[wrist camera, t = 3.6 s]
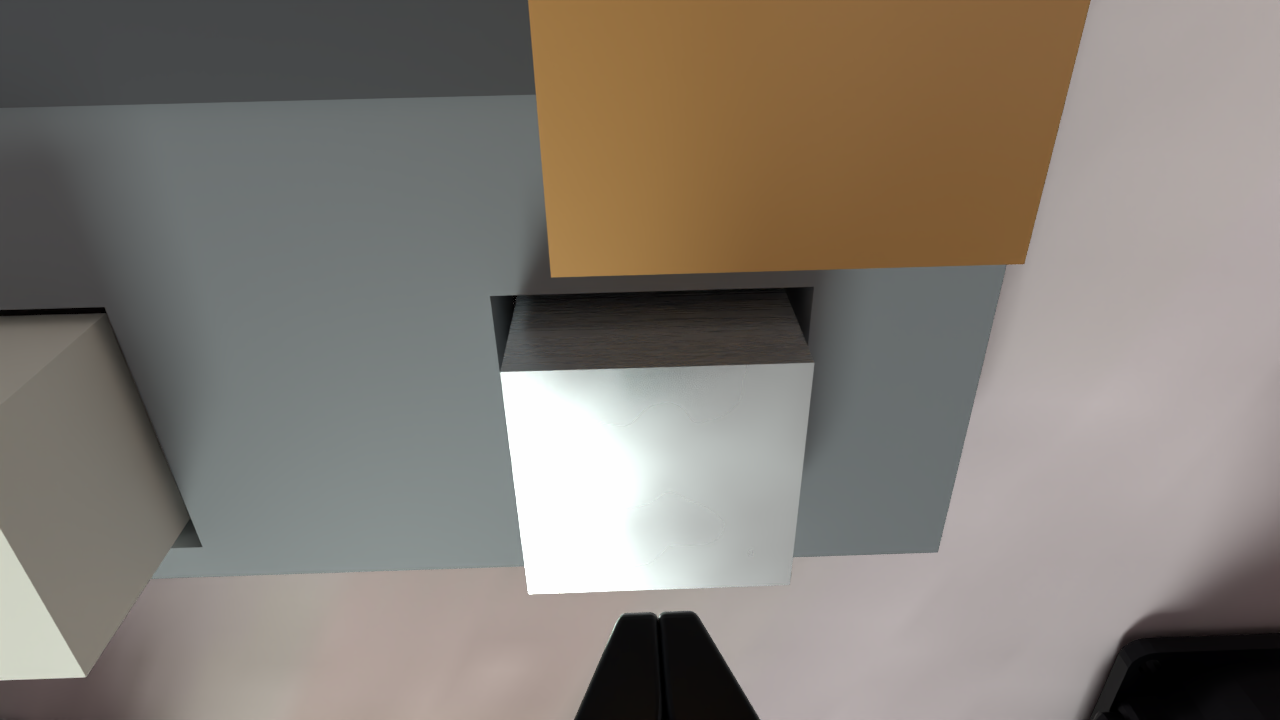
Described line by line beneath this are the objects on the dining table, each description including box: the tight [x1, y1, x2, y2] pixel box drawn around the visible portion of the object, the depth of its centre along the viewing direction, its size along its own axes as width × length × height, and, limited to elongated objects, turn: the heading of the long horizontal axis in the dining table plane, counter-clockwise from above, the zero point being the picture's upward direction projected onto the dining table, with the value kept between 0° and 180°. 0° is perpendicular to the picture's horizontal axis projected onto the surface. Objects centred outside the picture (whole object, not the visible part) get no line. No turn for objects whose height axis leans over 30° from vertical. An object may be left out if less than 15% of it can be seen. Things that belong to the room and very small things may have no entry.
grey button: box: [500, 288, 814, 594], centre depth 13 cm, size 4×4×3 cm
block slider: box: [528, 0, 1091, 277], centre depth 7 cm, size 4×3×4 cm
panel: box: [0, 0, 1006, 579], centre depth 12 cm, size 20×12×2 cm, turn 91°
